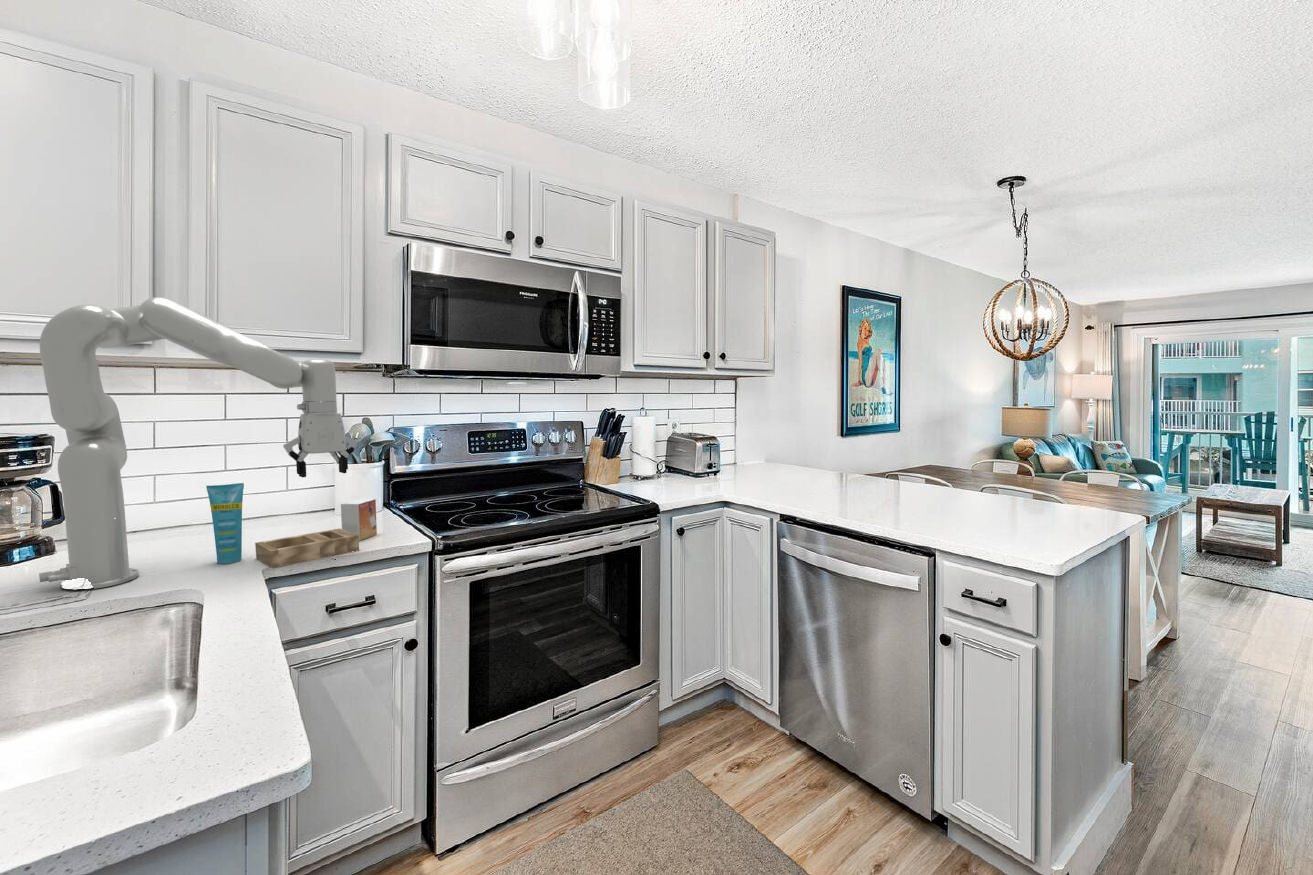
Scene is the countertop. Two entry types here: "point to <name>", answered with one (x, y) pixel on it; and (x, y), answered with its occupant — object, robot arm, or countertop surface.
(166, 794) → the countertop surface
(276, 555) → the holder block
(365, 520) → the small box
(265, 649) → the countertop surface
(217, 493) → the tube
